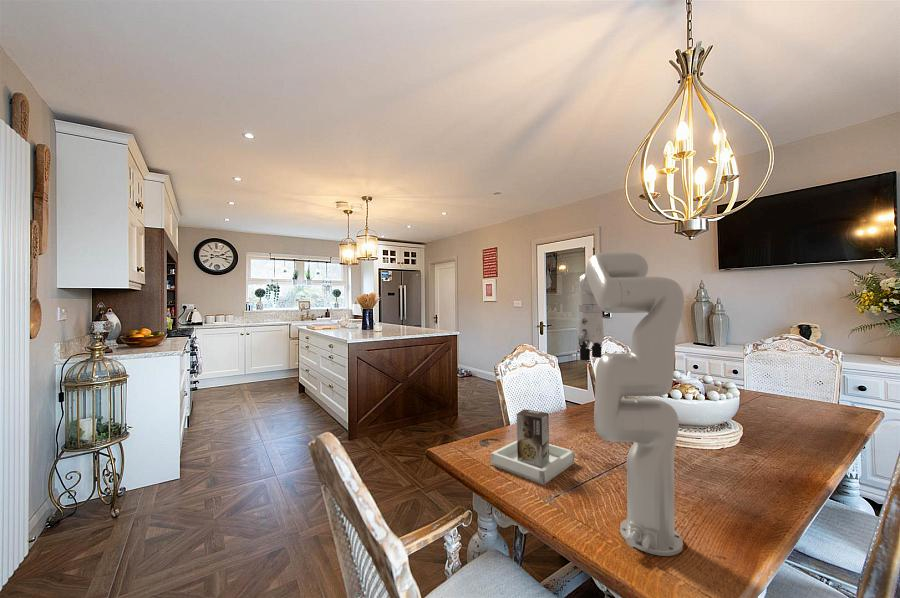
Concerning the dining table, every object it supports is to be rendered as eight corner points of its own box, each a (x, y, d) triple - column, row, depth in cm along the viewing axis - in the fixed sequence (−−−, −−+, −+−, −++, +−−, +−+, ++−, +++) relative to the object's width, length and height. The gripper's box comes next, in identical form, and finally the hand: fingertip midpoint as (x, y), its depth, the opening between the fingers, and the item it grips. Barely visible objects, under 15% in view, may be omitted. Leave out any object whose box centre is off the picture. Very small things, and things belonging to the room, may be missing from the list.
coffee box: (549, 461, 122) (549, 412, 122) (542, 468, 117) (542, 417, 117) (524, 454, 128) (524, 408, 128) (516, 461, 122) (516, 413, 122)
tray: (543, 485, 108) (542, 471, 109) (491, 465, 122) (490, 453, 122) (574, 463, 123) (574, 451, 123) (524, 447, 137) (524, 436, 137)
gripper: (590, 310, 119) (591, 362, 119) (610, 309, 132) (611, 356, 132) (568, 310, 125) (569, 360, 125) (590, 309, 137) (590, 354, 137)
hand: (591, 358), depth 128 cm, fingers open, 9 cm apart
